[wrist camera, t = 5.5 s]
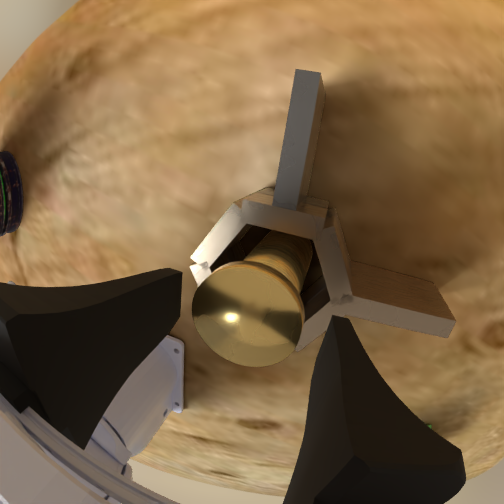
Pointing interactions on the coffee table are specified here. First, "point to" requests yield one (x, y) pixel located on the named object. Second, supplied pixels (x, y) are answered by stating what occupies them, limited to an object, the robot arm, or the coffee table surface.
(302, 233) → the hinge
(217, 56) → the coffee table surface
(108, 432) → the robot arm
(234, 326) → the hinge pin
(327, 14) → the coffee table surface
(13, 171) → the storage jar
